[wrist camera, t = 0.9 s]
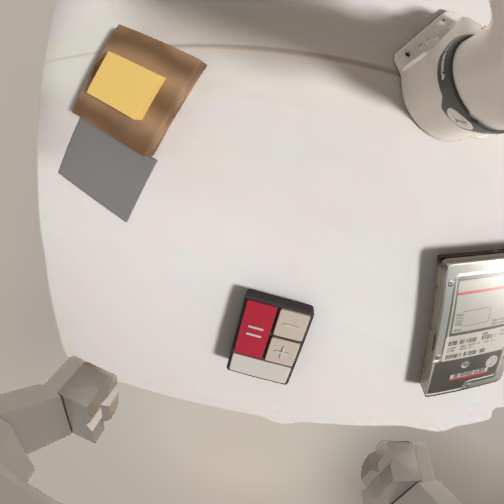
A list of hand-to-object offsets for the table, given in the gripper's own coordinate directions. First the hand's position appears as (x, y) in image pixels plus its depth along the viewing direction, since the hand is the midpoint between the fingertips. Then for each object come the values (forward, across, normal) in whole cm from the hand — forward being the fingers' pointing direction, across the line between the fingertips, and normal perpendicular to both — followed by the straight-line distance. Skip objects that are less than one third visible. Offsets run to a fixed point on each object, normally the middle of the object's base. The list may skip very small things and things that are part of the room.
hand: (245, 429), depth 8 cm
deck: (+40, +26, -12) cm, 50 cm away
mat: (+40, +31, +2) cm, 51 cm away
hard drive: (+41, -38, +12) cm, 57 cm away
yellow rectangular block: (+37, +26, -12) cm, 47 cm away
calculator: (+41, -2, +24) cm, 47 cm away
